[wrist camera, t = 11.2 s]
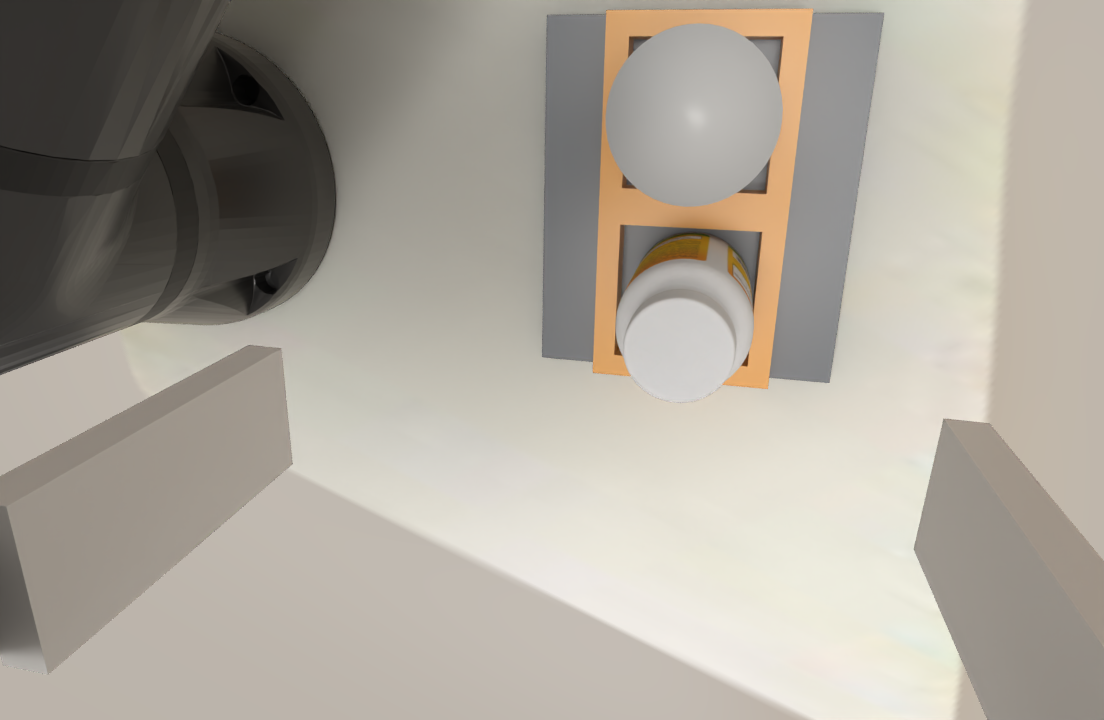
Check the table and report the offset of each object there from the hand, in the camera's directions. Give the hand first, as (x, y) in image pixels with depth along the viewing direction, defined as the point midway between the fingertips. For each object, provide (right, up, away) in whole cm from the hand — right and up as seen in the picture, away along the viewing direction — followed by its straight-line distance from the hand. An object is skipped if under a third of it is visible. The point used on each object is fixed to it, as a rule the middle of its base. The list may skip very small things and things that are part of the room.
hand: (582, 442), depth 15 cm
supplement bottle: (+6, +5, +21) cm, 22 cm away
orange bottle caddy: (+6, +9, +20) cm, 23 cm away
